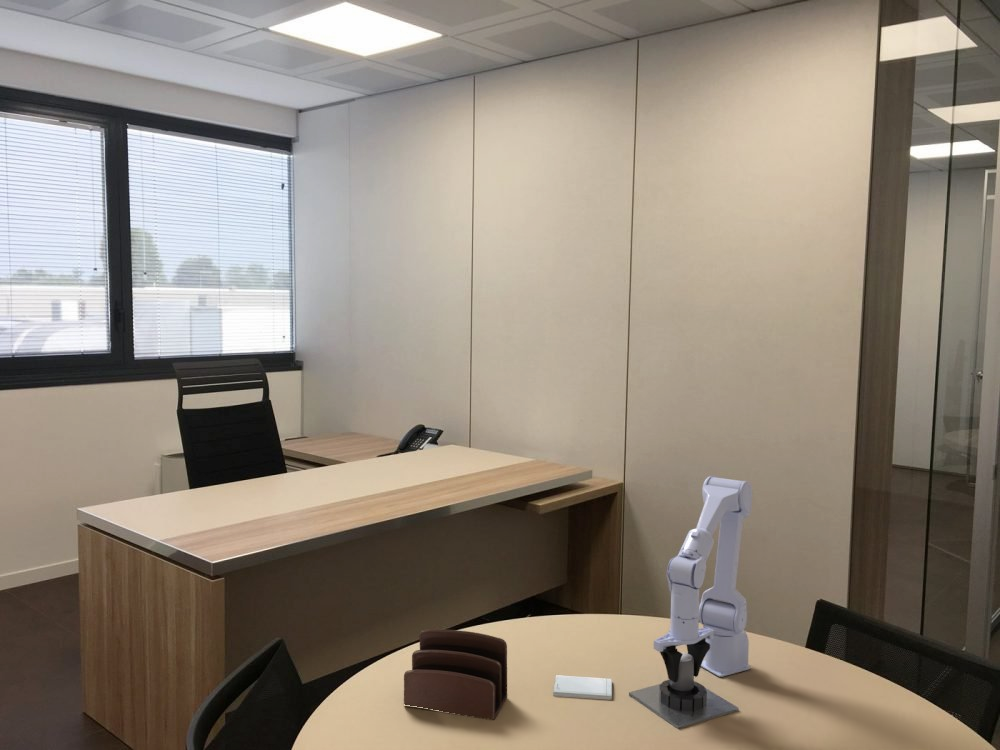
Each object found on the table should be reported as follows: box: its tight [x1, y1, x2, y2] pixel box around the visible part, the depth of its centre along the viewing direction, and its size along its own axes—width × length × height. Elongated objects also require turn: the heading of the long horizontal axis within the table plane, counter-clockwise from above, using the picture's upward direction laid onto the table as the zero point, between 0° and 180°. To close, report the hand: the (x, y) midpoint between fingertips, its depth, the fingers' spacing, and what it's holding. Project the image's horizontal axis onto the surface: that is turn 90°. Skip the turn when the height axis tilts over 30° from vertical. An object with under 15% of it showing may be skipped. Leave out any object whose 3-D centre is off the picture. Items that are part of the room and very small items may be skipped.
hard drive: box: [552, 674, 613, 701], centre depth 180 cm, size 2×8×12 cm
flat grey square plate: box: [628, 679, 740, 730], centre depth 174 cm, size 16×16×3 cm
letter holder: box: [403, 628, 508, 721], centre depth 173 cm, size 10×20×14 cm, turn 74°
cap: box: [669, 651, 695, 691], centre depth 174 cm, size 5×5×6 cm
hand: (683, 677), depth 174 cm, fingers closed on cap, 5 cm apart
